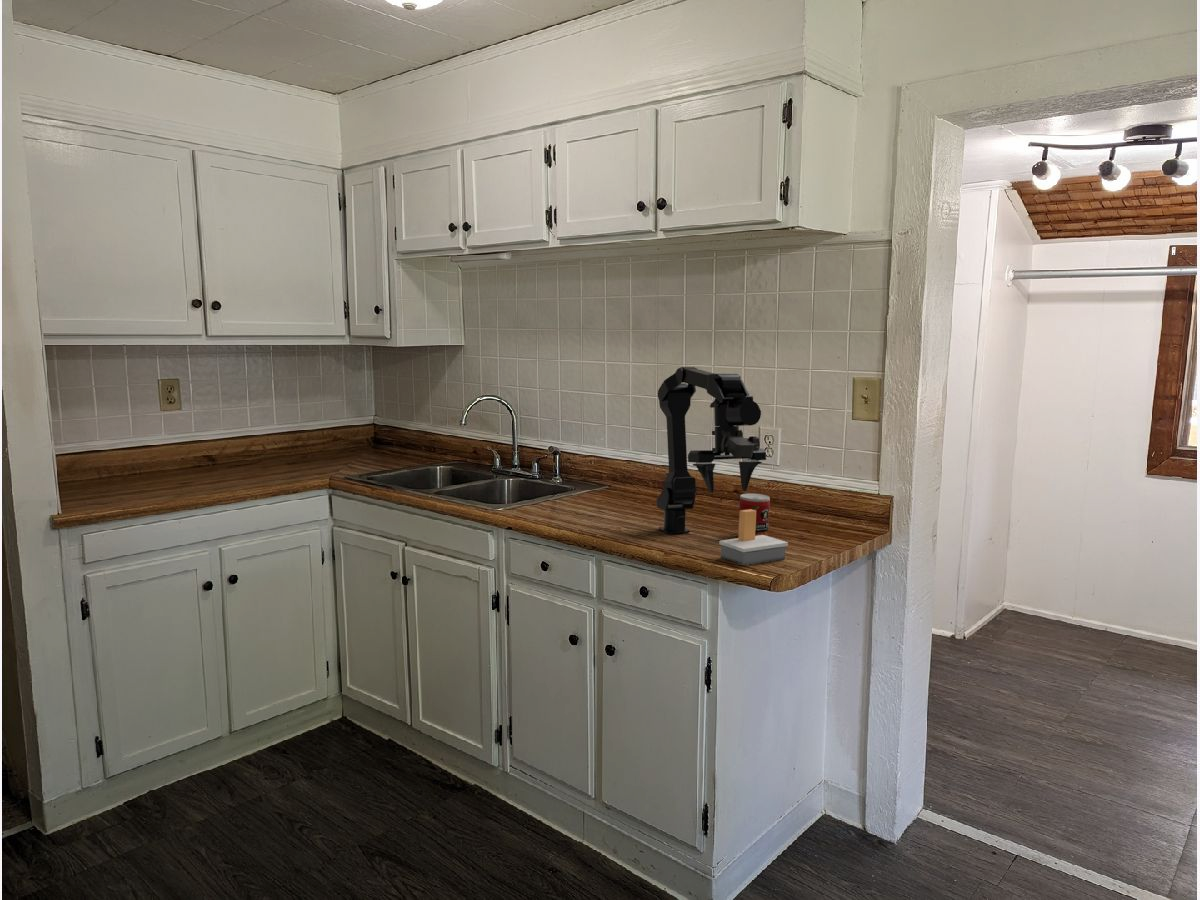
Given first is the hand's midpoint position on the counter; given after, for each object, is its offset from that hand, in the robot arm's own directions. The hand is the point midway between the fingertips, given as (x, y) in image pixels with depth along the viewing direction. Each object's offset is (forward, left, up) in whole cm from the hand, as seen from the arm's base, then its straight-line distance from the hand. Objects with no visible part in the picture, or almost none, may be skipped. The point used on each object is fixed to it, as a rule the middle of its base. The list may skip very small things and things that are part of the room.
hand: (728, 491), depth 204 cm
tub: (+5, +5, -15) cm, 17 cm away
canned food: (-13, +16, -16) cm, 26 cm away
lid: (+5, +5, -12) cm, 14 cm away
